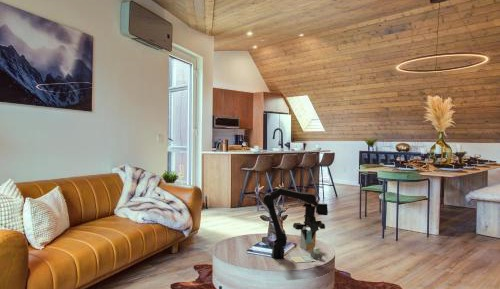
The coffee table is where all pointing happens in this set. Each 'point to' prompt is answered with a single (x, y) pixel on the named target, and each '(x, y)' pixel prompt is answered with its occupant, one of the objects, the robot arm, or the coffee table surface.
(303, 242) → the small box
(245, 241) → the coffee table surface
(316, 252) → the button
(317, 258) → the frame
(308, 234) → the teal marker
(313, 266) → the coffee table surface
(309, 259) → the colouring sheet
